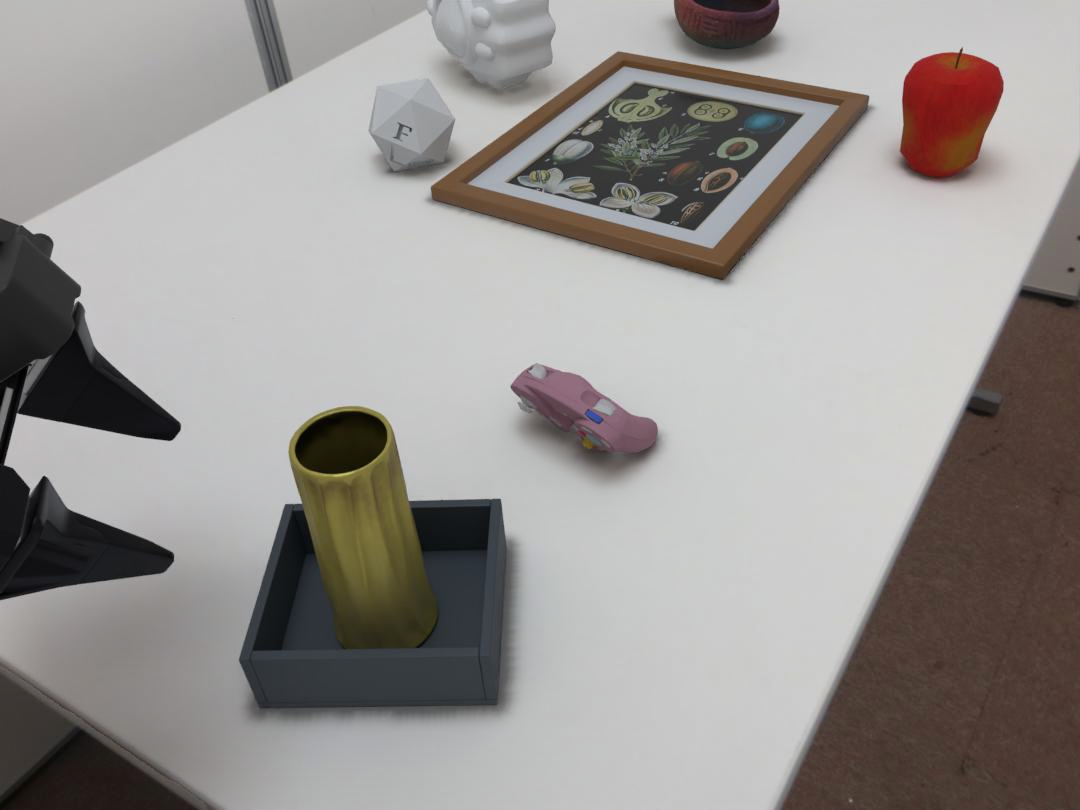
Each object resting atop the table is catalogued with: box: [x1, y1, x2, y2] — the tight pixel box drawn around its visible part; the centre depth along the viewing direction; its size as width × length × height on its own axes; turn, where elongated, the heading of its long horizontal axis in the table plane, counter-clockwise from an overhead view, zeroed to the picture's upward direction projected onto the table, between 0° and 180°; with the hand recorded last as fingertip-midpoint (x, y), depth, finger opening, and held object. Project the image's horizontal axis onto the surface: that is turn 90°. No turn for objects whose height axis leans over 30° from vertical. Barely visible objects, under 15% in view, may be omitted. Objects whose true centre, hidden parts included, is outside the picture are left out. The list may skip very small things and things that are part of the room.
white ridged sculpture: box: [426, 0, 557, 90], centre depth 113 cm, size 11×18×16 cm, turn 33°
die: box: [367, 77, 456, 173], centre depth 100 cm, size 8×9×10 cm
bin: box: [238, 498, 508, 709], centre depth 56 cm, size 13×11×4 cm
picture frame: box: [430, 50, 870, 280], centre depth 101 cm, size 31×2×38 cm
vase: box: [288, 405, 438, 649], centre depth 53 cm, size 6×6×14 cm
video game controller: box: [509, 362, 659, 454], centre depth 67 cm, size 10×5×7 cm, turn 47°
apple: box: [899, 46, 1005, 179], centre depth 92 cm, size 9×8×12 cm
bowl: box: [673, 0, 781, 51], centre depth 121 cm, size 16×13×8 cm
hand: (174, 493), depth 48 cm, fingers open, 9 cm apart
